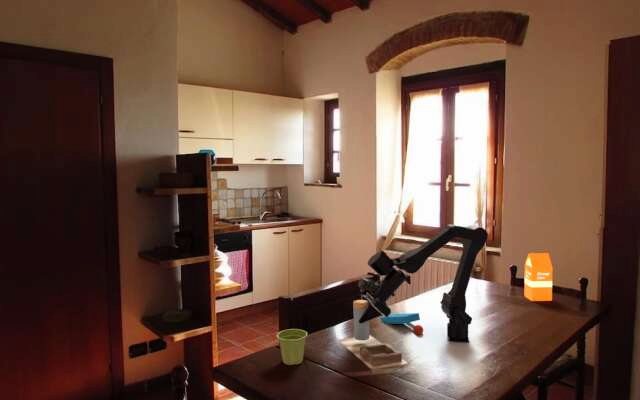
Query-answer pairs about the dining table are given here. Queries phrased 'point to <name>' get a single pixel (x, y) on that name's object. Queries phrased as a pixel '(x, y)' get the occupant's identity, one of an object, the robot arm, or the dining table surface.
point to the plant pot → (292, 345)
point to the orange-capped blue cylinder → (359, 329)
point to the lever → (404, 320)
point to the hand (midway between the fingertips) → (357, 320)
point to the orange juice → (538, 277)
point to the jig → (374, 353)
